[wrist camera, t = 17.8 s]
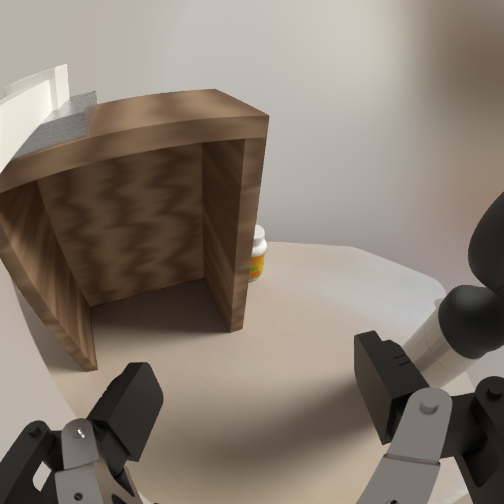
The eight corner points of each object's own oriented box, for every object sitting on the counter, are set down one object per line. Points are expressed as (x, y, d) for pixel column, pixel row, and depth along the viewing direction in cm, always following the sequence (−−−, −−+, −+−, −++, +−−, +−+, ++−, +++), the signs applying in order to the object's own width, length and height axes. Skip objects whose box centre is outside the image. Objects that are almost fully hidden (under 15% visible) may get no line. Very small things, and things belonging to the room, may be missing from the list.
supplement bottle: (231, 281, 50) (234, 239, 43) (234, 260, 54) (237, 219, 47) (261, 283, 50) (269, 243, 43) (262, 262, 54) (268, 222, 47)
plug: (72, 95, 21) (70, 63, 18) (1, 182, 7) (-19, 94, 4) (32, 108, 19) (29, 76, 16) (-68, 216, 5) (-91, 144, 3)
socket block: (97, 107, 23) (95, 90, 22) (86, 136, 16) (83, 111, 14) (12, 134, 19) (9, 118, 18) (-28, 178, 12) (-34, 157, 10)
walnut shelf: (211, 268, 51) (215, 89, 30) (242, 328, 42) (269, 115, 21) (80, 302, 42) (14, 130, 20) (86, 371, 33) (-34, 183, 11)
